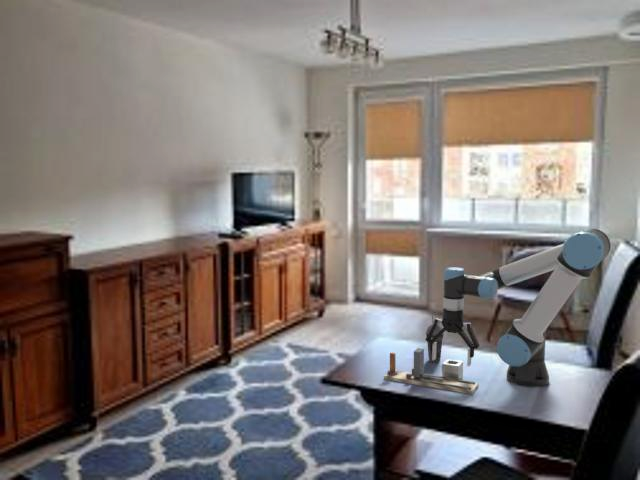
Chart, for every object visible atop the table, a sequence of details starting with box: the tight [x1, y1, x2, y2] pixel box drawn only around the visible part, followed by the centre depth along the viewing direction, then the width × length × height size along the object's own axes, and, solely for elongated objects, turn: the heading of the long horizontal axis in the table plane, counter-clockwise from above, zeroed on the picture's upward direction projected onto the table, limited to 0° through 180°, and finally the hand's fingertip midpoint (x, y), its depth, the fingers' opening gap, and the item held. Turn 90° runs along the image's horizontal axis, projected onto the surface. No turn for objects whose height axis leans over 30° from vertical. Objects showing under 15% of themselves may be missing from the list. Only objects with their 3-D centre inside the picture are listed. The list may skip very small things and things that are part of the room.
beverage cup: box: [425, 313, 445, 364], centre depth 240 cm, size 7×7×20 cm
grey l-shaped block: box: [413, 347, 443, 381], centre depth 216 cm, size 11×5×10 cm, turn 62°
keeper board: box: [383, 352, 479, 395], centre depth 216 cm, size 34×8×9 cm, turn 62°
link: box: [441, 358, 464, 380], centre depth 221 cm, size 6×6×6 cm
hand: (451, 362), depth 221 cm, fingers open, 13 cm apart
